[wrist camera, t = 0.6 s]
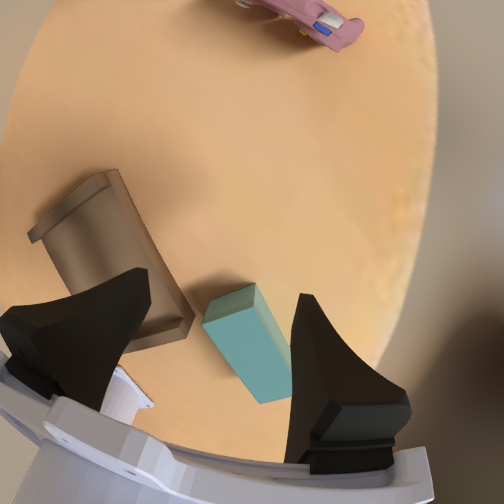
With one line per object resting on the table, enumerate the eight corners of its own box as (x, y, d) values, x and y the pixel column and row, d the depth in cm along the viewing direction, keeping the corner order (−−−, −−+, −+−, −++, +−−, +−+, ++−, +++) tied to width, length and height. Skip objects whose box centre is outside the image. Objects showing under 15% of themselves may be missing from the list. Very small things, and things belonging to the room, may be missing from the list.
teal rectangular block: (261, 376, 28) (259, 404, 24) (210, 299, 24) (201, 324, 21) (299, 365, 27) (302, 392, 23) (255, 281, 23) (253, 306, 20)
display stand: (116, 339, 27) (103, 358, 24) (48, 222, 22) (26, 233, 19) (195, 315, 25) (186, 338, 22) (117, 169, 20) (95, 173, 17)
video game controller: (242, 4, 16) (204, -8, 11) (269, -31, 13) (239, -55, 8) (337, 62, 17) (332, 64, 13) (369, 27, 14) (377, 16, 9)
